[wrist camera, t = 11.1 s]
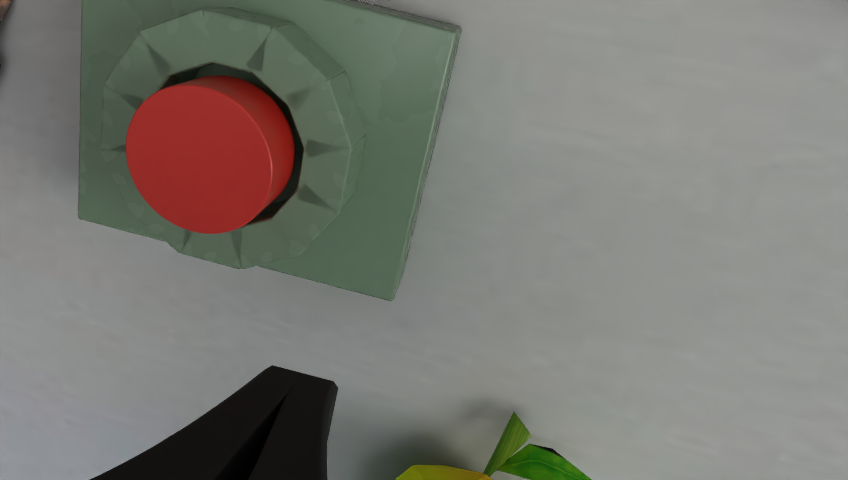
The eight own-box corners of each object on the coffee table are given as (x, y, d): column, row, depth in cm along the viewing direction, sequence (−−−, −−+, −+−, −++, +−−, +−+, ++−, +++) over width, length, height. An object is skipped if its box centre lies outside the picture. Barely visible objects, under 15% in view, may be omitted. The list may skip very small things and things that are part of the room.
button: (157, 192, 17) (121, 213, 16) (166, 59, 16) (128, 66, 14) (284, 226, 17) (262, 250, 16) (305, 94, 16) (282, 106, 14)
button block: (117, 197, 22) (36, 240, 18) (128, -57, 19) (33, -69, 15) (403, 272, 21) (381, 332, 18) (462, 26, 18) (450, 36, 15)
